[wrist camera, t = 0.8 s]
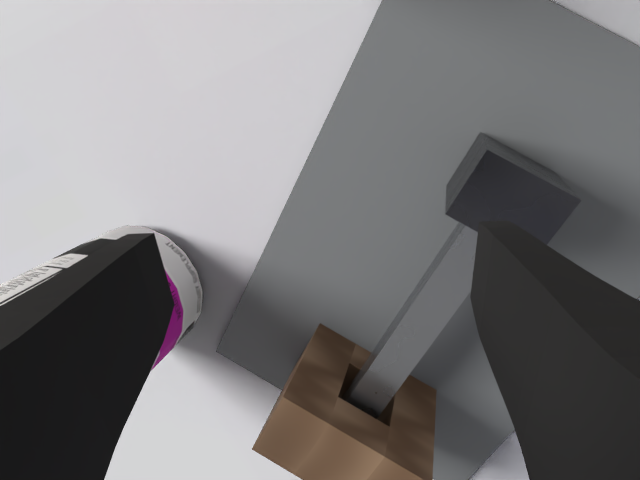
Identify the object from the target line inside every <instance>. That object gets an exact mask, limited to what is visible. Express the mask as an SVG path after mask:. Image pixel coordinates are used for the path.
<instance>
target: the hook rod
mask: <svg viewBox="0 0 640 480" xmlns="http://www.w3.org/2000/svg"><path fill="white" fill-rule="evenodd" d="M580 202H581V199H580V198H579V197H578V196H577V195H576V194H575V193H574V192H573V191H572V189H571V188H570V187H569V186H568V185H567V184H566V183H565V182H564V181H563V180H562V179H561V178H560V177H559V175H558V174H557V173H556V172H554V171H552V170H550V169H548V168H547V167H545V166H543V165H541V164H539V163H537V162H535V161H534V160H532V159H530V158H528V157H526V156H524V155H522V154H521V153H519V152H517V151H515V150H513V149H511V148H509V147H508V146H506V145H504V144H502V143H500V142H498V141H496V140H494V139H493V138H491V137H489V136H487V135H485V134H483V133H481V132H480V133H479V134H478V136H477V138H476V139H475V141H474V142H473V144H472V146H471V147H470V149H469V150H468V152H467V154H466V155H465V157H464V158H463V160H462V161H461V163H460V165H459V166H458V168H457V169H456V171H455V173H454V174H453V176H452V177H451V179H450V180H449V182H448V184H447V185H446V206H445V215H447V216H449V217H451V218H453V219H455V220H456V221H458V222H459V223H458V224H457V226H456V227H455V229H454V230H453V231H452V233H451V234H450V236H449V237H448V239H447V240H446V242H445V243H444V245H443V246H442V248H441V249H440V251H439V252H438V254H437V255H436V257H435V258H434V260H433V261H432V263H431V264H430V266H429V267H428V269H427V270H426V272H425V273H424V275H423V276H422V278H421V279H420V281H419V282H418V284H417V285H416V287H415V288H414V290H413V291H412V293H411V294H410V296H409V297H408V299H407V300H406V302H405V303H404V305H403V306H402V308H401V309H400V311H399V312H398V314H397V315H396V317H395V318H394V320H393V321H392V323H391V324H390V326H389V327H388V329H387V330H386V332H385V333H384V335H383V336H382V338H381V339H380V341H379V342H378V344H377V345H376V347H375V348H374V350H373V351H372V353H371V354H370V356H369V357H368V359H367V360H366V362H365V363H364V365H363V366H362V368H361V369H360V371H359V372H358V374H357V375H356V377H355V378H354V380H353V381H352V383H351V384H350V386H349V387H348V389H347V390H346V392H345V393H344V395H343V396H342V398H341V399H343V400H344V401H346V402H348V403H350V404H351V405H353V406H355V407H356V408H358V409H360V410H362V411H363V412H365V413H367V414H368V415H370V416H372V417H374V418H375V419H377V418H378V417H379V415H380V414H381V412H382V411H383V410H384V408H385V407H386V406H387V404H388V403H389V402H390V400H391V399H392V397H393V396H394V395H395V393H396V392H397V391H398V389H399V388H400V387H401V385H402V384H403V383H404V381H405V380H406V378H407V377H408V376H409V374H410V373H411V372H412V370H413V369H414V368H415V366H416V365H417V363H418V362H419V361H420V359H421V358H422V357H423V355H424V354H425V353H426V351H427V350H428V349H429V347H430V346H431V344H432V343H433V342H434V340H435V339H436V338H437V336H438V335H439V334H440V332H441V331H442V329H443V328H444V327H445V325H446V324H447V323H448V321H449V320H450V319H451V317H452V316H453V315H454V313H455V312H456V310H457V309H458V308H459V306H460V305H461V304H462V302H463V301H464V300H465V298H466V297H467V295H468V294H469V293H470V291H471V287H472V278H473V270H474V261H475V253H476V244H477V236H478V227H479V222H484V221H510V222H512V223H514V224H515V225H517V226H519V227H520V228H522V229H524V230H525V231H527V232H528V233H530V234H531V235H533V236H534V237H536V238H537V239H539V240H540V241H542V242H543V243H545V244H546V245H547V244H548V243H549V241H550V240H551V239H552V238H553V236H554V235H555V234H556V232H557V231H558V230H559V229H560V227H561V226H562V225H563V224H564V222H565V221H566V220H567V218H568V217H569V216H570V215H571V213H572V212H573V211H574V209H575V208H576V207H577V206H578V204H579V203H580Z"/></svg>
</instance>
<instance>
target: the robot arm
mask: <svg viewBox="0 0 640 480" xmlns="http://www.w3.org/2000/svg"><path fill="white" fill-rule="evenodd" d="M470 299H471V303H472V308H473V313H474V317H475V321H476V325H477V330H478V334H479V337H480V340H481V343H482V345H483V348H484V351H485V353H486V356H487V359H488V361H489V364H490V366H491V369H492V372H493V374H494V377H495V379H496V382H497V384H498V387H499V390H500V392H501V395H502V397H503V400H504V402H505V405H506V408H507V410H508V413H509V415H510V418H511V420H512V423H513V426H514V428H515V431H516V434H517V437H518V440H519V443H520V446H521V449H522V453H523V457H524V460H525V464H526V468H527V471H528V475H529V479H530V480H640V301H639V300H637V299H635V298H634V297H632V296H630V295H628V294H626V293H624V292H623V291H621V290H619V289H617V288H616V287H614V286H612V285H610V284H609V283H607V282H605V281H603V280H601V279H600V278H598V277H596V276H595V275H593V274H591V273H590V272H588V271H586V270H585V269H583V268H582V267H580V266H578V265H577V264H575V263H574V262H572V261H571V260H569V259H567V258H566V257H564V256H563V255H561V254H560V253H558V252H557V251H555V250H554V249H552V248H551V247H549V246H548V245H546V244H545V243H543V242H542V241H540V240H539V239H537V238H536V237H534V236H533V235H531V234H530V233H528V232H527V231H525V230H524V229H522V228H520V227H519V226H517V225H515V224H514V223H512V222H510V221H484V222H479V227H478V236H477V244H476V253H475V261H474V270H473V278H472V287H471V295H470ZM174 305H175V304H174V300H173V297H172V293H171V290H170V286H169V283H168V279H167V276H166V272H165V269H164V265H163V262H162V258H161V255H160V251H159V248H158V244H157V241H156V238H155V234H154V233H139V234H127V235H125V236H122V237H120V238H118V239H116V240H114V241H112V242H111V243H109V244H107V245H105V246H103V247H102V248H100V249H98V250H97V251H95V252H93V253H91V254H90V255H88V256H86V257H85V258H83V259H81V260H80V261H78V262H76V263H75V264H73V265H71V266H70V267H68V268H66V269H65V270H63V271H61V272H60V273H58V274H56V275H55V276H53V277H51V278H50V279H48V280H46V281H44V282H43V283H41V284H39V285H37V286H35V287H34V288H32V289H30V290H28V291H26V292H25V293H23V294H21V295H19V296H17V297H16V298H14V299H12V300H10V301H8V302H7V303H5V304H3V305H1V306H0V480H104V478H105V475H106V472H107V470H108V467H109V464H110V461H111V458H112V455H113V452H114V449H115V447H116V444H117V442H118V440H119V437H120V435H121V432H122V430H123V428H124V426H125V423H126V421H127V419H128V417H129V415H130V413H131V411H132V409H133V407H134V404H135V402H136V400H137V398H138V396H139V394H140V392H141V390H142V387H143V385H144V383H145V381H146V379H147V377H148V375H149V373H150V371H151V368H152V366H153V364H154V362H155V360H156V358H157V355H158V353H159V351H160V349H161V346H162V344H163V342H164V339H165V336H166V333H167V329H168V326H169V323H170V319H171V316H172V312H173V308H174Z"/></svg>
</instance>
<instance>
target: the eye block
mask: <svg viewBox="0 0 640 480" xmlns="http://www.w3.org/2000/svg"><path fill="white" fill-rule="evenodd" d="M370 354H371V352H369V351H368V350H366V349H364V348H362V347H361V346H359V345H357V344H355V343H354V342H352V341H350V340H348V339H347V338H345V337H343V336H342V335H340V334H338V333H336V332H335V331H333V330H331V329H329V328H328V327H326V326H324V325H322V324H321V323H320V324H319V326H318V327H317V329H316V331H315V332H314V334H313V336H312V338H311V339H310V341H309V343H308V344H307V346H306V348H305V350H304V351H303V353H302V355H301V356H300V358H299V360H298V362H297V363H296V365H295V367H294V368H293V370H292V372H291V374H290V376H289V378H288V380H287V382H286V384H285V386H284V388H283V390H282V392H281V394H280V396H279V398H278V399H277V401H276V403H275V405H274V407H273V409H272V411H271V413H270V415H269V417H268V419H267V421H266V423H265V425H264V427H263V429H262V431H261V432H260V434H259V436H258V438H257V440H256V442H255V444H254V446H253V448H252V450H254V451H256V452H257V453H259V454H261V455H262V456H264V457H266V458H267V459H269V460H271V461H272V462H274V463H276V464H277V465H279V466H281V467H282V468H284V469H286V470H288V471H289V472H291V473H293V474H294V475H296V476H298V477H299V478H301V479H303V480H432V479H433V458H434V436H435V415H436V393H437V390H435V389H434V388H432V387H430V386H429V385H427V384H425V383H423V382H422V381H420V380H418V379H416V378H415V377H413V376H411V375H409V376H408V377H407V378H406V380H405V381H404V383H403V384H402V385H401V387H400V388H399V389H398V391H397V392H396V393H395V395H394V396H393V397H392V399H391V400H390V402H389V403H388V404H387V406H386V407H385V408H384V410H383V411H382V412H381V414H380V415H379V417H378V418H377V419H375V418H374V417H372V416H370V415H368V414H367V413H365V412H363V411H362V410H360V409H358V408H356V407H355V406H353V405H351V404H350V403H348V402H346V401H344V400H343V399H341V398H342V396H343V395H344V393H345V392H346V390H347V389H348V387H349V386H350V384H351V383H352V381H353V380H354V378H355V377H356V375H357V374H358V372H359V371H360V369H361V368H362V366H363V365H364V363H365V362H366V360H367V359H368V357H369V356H370Z"/></svg>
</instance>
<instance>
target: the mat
mask: <svg viewBox="0 0 640 480" xmlns="http://www.w3.org/2000/svg"><path fill="white" fill-rule="evenodd" d="M480 132H481V133H483V134H485V135H487V136H489V137H491V138H493V139H494V140H496V141H498V142H500V143H502V144H504V145H506V146H508V147H509V148H511V149H513V150H515V151H517V152H519V153H521V154H522V155H524V156H526V157H528V158H530V159H532V160H534V161H535V162H537V163H539V164H541V165H543V166H545V167H547V168H548V169H550V170H552V171H554V172H556V173H557V174H558V175H559V177H560V178H561V179H562V180H563V181H564V182H565V183H566V184H567V185H568V186H569V187H570V188H571V189H572V191H573V192H574V193H575V194H576V195H577V196H578V197H579V198H580V199H581V202H580V203H579V204H578V206H577V207H576V208H575V209H574V211H573V212H572V213H571V215H570V216H569V217H568V218H567V220H566V221H565V222H564V224H563V225H562V226H561V227H560V229H559V230H558V231H557V232H556V234H555V235H554V236H553V238H552V239H551V240H550V241H549V243H548V244H547V245H548V246H549V247H551V248H552V249H554V250H555V251H557V252H558V253H560V254H561V255H563V256H564V257H566V258H567V259H569V260H571V261H572V262H574V263H575V264H577V265H578V266H580V267H582V268H583V269H585V270H586V271H588V272H590V273H591V274H593V275H595V276H596V277H598V278H600V279H601V280H603V281H605V282H607V283H609V284H610V285H612V286H614V287H616V288H617V289H619V290H621V291H623V292H624V293H626V294H628V295H630V296H632V297H634V298H635V299H638V298H639V297H640V47H639V46H637V45H635V44H634V43H632V42H630V41H628V40H626V39H624V38H622V37H620V36H618V35H616V34H614V33H612V32H610V31H608V30H606V29H604V28H602V27H600V26H599V25H597V24H595V23H593V22H591V21H589V20H587V19H585V18H583V17H581V16H579V15H577V14H575V13H573V12H571V11H569V10H567V9H566V8H564V7H562V6H560V5H558V4H556V3H554V2H552V1H550V0H382V2H381V4H380V6H379V8H378V10H377V13H376V15H375V17H374V19H373V21H372V23H371V25H370V27H369V29H368V32H367V34H366V36H365V38H364V40H363V42H362V44H361V46H360V48H359V51H358V53H357V55H356V57H355V59H354V61H353V63H352V65H351V67H350V70H349V72H348V74H347V76H346V78H345V80H344V82H343V84H342V86H341V89H340V91H339V93H338V95H337V97H336V99H335V101H334V103H333V105H332V108H331V110H330V112H329V114H328V116H327V118H326V120H325V122H324V124H323V127H322V129H321V131H320V133H319V135H318V137H317V139H316V141H315V143H314V146H313V148H312V150H311V152H310V154H309V156H308V158H307V160H306V162H305V165H304V167H303V169H302V171H301V173H300V175H299V177H298V179H297V181H296V184H295V186H294V188H293V190H292V192H291V194H290V196H289V198H288V200H287V203H286V205H285V207H284V209H283V211H282V213H281V215H280V217H279V220H278V222H277V224H276V226H275V228H274V230H273V232H272V234H271V236H270V239H269V241H268V243H267V245H266V247H265V249H264V251H263V253H262V255H261V258H260V260H259V262H258V264H257V266H256V268H255V270H254V272H253V274H252V277H251V279H250V281H249V283H248V285H247V287H246V289H245V291H244V293H243V296H242V298H241V300H240V302H239V304H238V306H237V308H236V310H235V312H234V315H233V317H232V319H231V321H230V323H229V325H228V327H227V329H226V331H225V334H224V336H223V338H222V340H221V342H220V344H219V346H218V348H217V350H216V352H218V353H220V354H221V355H223V356H225V357H227V358H228V359H230V360H232V361H233V362H235V363H237V364H238V365H240V366H242V367H244V368H245V369H247V370H249V371H250V372H252V373H254V374H256V375H257V376H259V377H261V378H262V379H264V380H266V381H267V382H269V383H271V384H273V385H274V386H276V387H278V388H279V389H281V390H283V388H284V386H285V384H286V382H287V380H288V378H289V376H290V374H291V372H292V370H293V368H294V367H295V365H296V363H297V362H298V360H299V358H300V356H301V355H302V353H303V351H304V350H305V348H306V346H307V344H308V343H309V341H310V339H311V338H312V336H313V334H314V332H315V331H316V329H317V327H318V326H319V324H320V323H321V324H322V325H324V326H326V327H328V328H329V329H331V330H333V331H335V332H336V333H338V334H340V335H342V336H343V337H345V338H347V339H348V340H350V341H352V342H354V343H355V344H357V345H359V346H361V347H362V348H364V349H366V350H368V351H369V352H371V353H372V351H373V350H374V348H375V347H376V345H377V344H378V342H379V341H380V339H381V338H382V336H383V335H384V333H385V332H386V330H387V329H388V327H389V326H390V324H391V323H392V321H393V320H394V318H395V317H396V315H397V314H398V312H399V311H400V309H401V308H402V306H403V305H404V303H405V302H406V300H407V299H408V297H409V296H410V294H411V293H412V291H413V290H414V288H415V287H416V285H417V284H418V282H419V281H420V279H421V278H422V276H423V275H424V273H425V272H426V270H427V269H428V267H429V266H430V264H431V263H432V261H433V260H434V258H435V257H436V255H437V254H438V252H439V251H440V249H441V248H442V246H443V245H444V243H445V242H446V240H447V239H448V237H449V236H450V234H451V233H452V231H453V230H454V229H455V227H456V226H457V224H458V223H459V222H458V221H456V220H455V219H453V218H451V217H449V216H447V215H445V206H446V185H447V184H448V182H449V180H450V179H451V177H452V176H453V174H454V173H455V171H456V169H457V168H458V166H459V165H460V163H461V161H462V160H463V158H464V157H465V155H466V154H467V152H468V150H469V149H470V147H471V146H472V144H473V142H474V141H475V139H476V138H477V136H478V134H479V133H480ZM470 295H471V291H470V293H469V294H468V295H467V297H466V298H465V300H464V301H463V302H462V304H461V305H460V306H459V308H458V309H457V310H456V312H455V313H454V315H453V316H452V317H451V319H450V320H449V321H448V323H447V324H446V325H445V327H444V328H443V329H442V331H441V332H440V334H439V335H438V336H437V338H436V339H435V340H434V342H433V343H432V344H431V346H430V347H429V349H428V350H427V351H426V353H425V354H424V355H423V357H422V358H421V359H420V361H419V362H418V363H417V365H416V366H415V368H414V369H413V370H412V372H411V373H410V374H409V375H411V376H413V377H415V378H416V379H418V380H420V381H422V382H423V383H425V384H427V385H429V386H430V387H432V388H434V389H435V390H437V393H436V415H435V436H434V458H433V479H434V480H468V479H469V478H470V477H471V476H472V475H473V474H474V473H475V472H476V471H477V470H478V468H479V467H480V466H481V465H482V464H483V463H484V462H485V461H486V460H487V459H488V458H489V457H490V456H491V455H492V453H493V452H494V451H495V450H496V449H497V448H498V447H499V446H500V445H501V444H502V443H503V442H504V441H505V440H506V439H507V437H508V436H509V435H510V434H511V433H512V432H513V431H514V430H515V428H514V426H513V423H512V420H511V418H510V415H509V413H508V410H507V408H506V405H505V402H504V400H503V397H502V395H501V392H500V390H499V387H498V384H497V382H496V379H495V377H494V374H493V372H492V369H491V366H490V364H489V361H488V359H487V356H486V353H485V351H484V348H483V345H482V343H481V340H480V337H479V334H478V330H477V325H476V321H475V317H474V313H473V308H472V303H471V299H470Z"/></svg>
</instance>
